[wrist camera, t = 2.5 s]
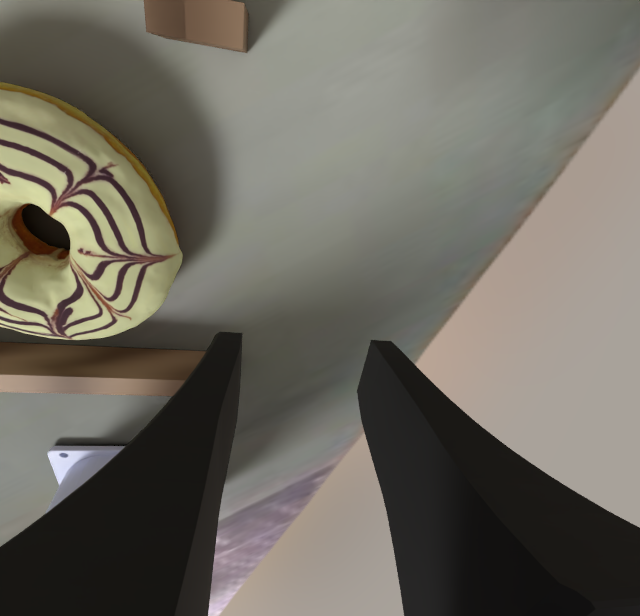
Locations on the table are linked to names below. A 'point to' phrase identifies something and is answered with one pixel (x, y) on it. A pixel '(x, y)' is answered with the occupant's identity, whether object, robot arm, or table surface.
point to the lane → (117, 362)
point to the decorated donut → (77, 224)
